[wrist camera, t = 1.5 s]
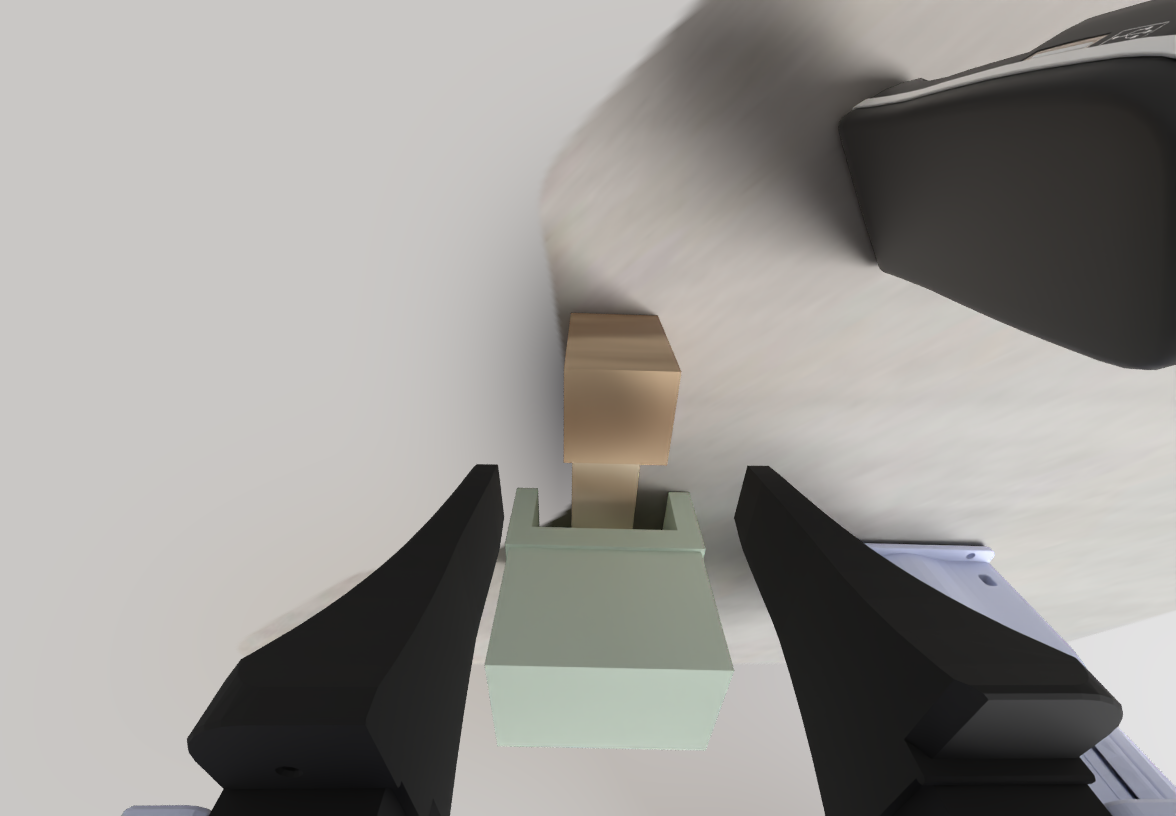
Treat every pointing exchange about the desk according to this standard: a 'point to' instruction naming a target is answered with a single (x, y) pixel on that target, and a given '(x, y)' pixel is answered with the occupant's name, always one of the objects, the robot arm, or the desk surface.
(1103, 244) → the battery charger
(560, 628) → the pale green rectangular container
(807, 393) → the desk surface
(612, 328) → the wooden rectangular block
